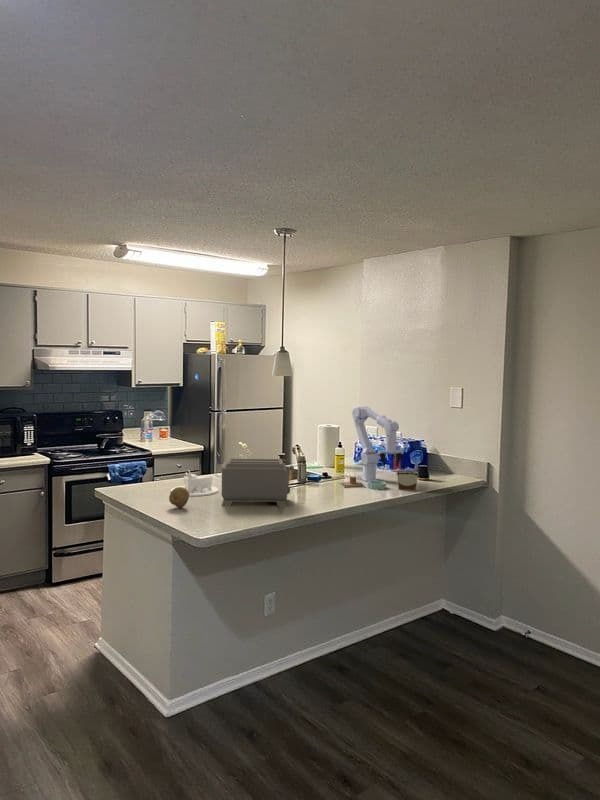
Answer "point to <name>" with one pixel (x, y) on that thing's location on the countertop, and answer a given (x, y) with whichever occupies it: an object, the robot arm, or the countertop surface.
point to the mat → (348, 486)
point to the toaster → (255, 481)
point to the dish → (198, 485)
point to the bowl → (377, 484)
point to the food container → (407, 479)
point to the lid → (353, 483)
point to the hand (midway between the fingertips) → (390, 466)
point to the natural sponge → (179, 497)
